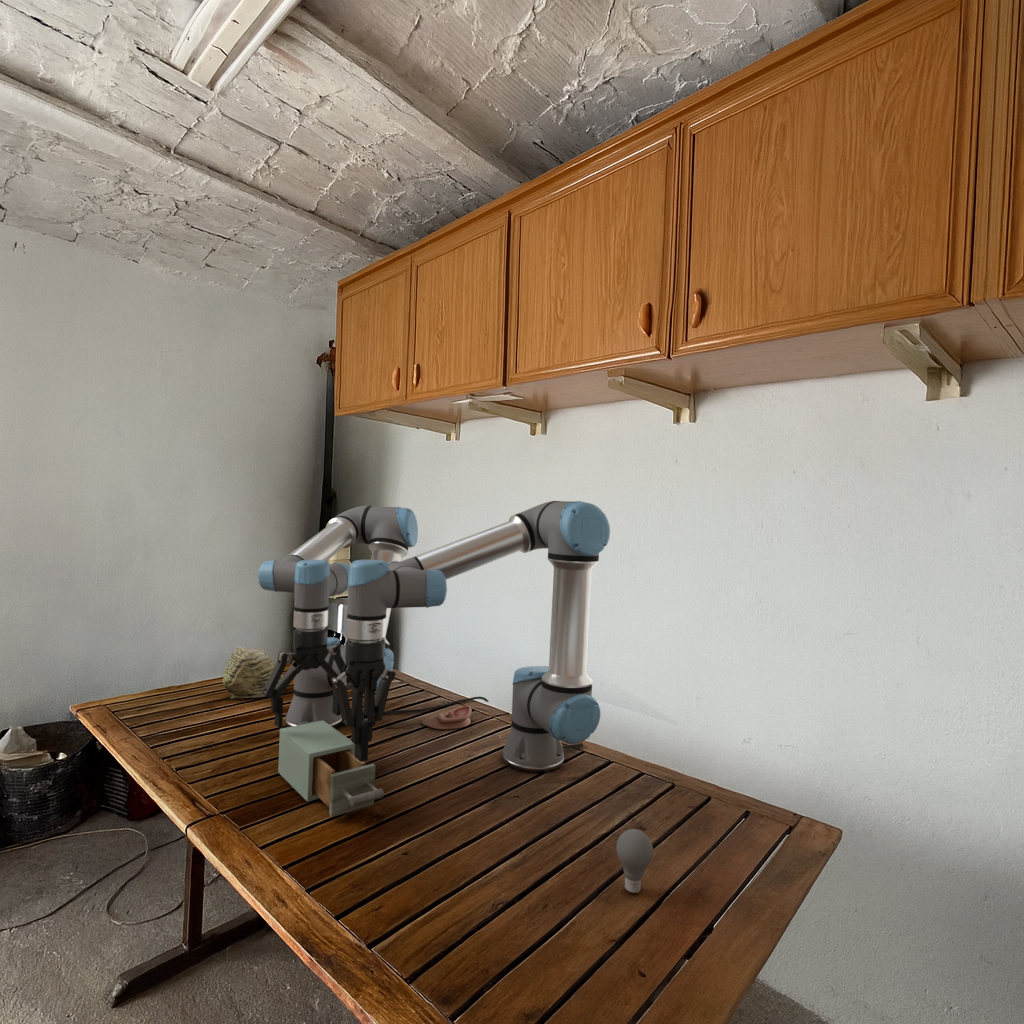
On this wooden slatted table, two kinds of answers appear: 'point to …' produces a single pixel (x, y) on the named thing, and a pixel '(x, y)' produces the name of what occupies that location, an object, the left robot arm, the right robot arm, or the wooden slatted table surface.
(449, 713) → the anatomical model
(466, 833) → the wooden slatted table surface
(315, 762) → the drawer
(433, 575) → the right robot arm
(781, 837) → the wooden slatted table surface
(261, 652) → the fossil
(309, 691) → the left robot arm
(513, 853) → the wooden slatted table surface
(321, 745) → the cabinet
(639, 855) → the light bulb
